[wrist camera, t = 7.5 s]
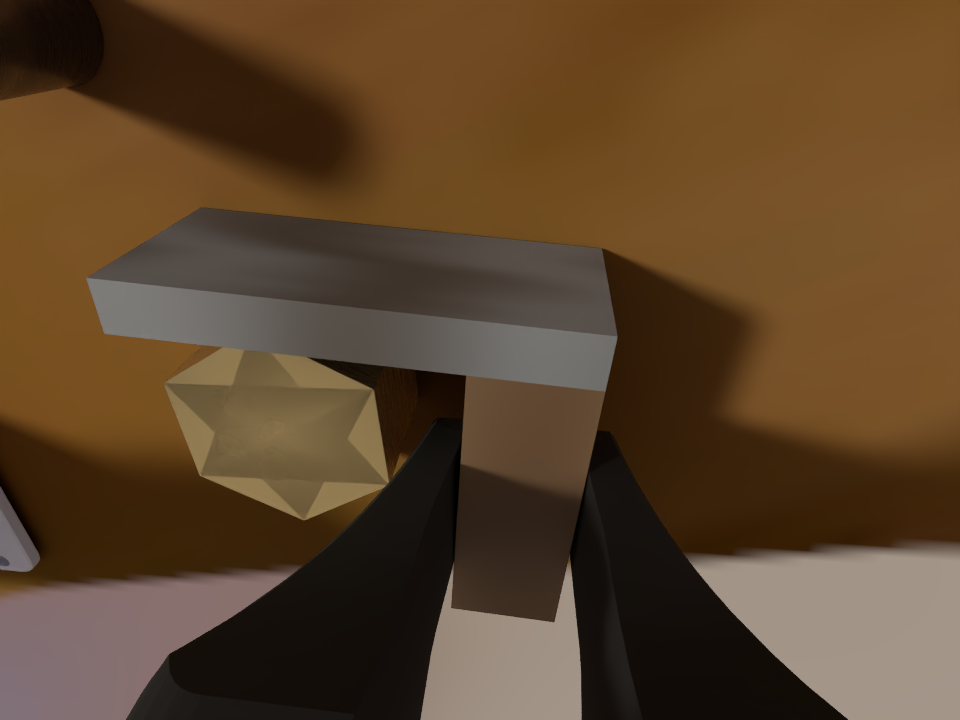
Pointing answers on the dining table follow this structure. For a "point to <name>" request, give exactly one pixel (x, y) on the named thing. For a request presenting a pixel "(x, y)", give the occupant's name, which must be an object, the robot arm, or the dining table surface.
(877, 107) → the dining table surface
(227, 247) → the hook tool
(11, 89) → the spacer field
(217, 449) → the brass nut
